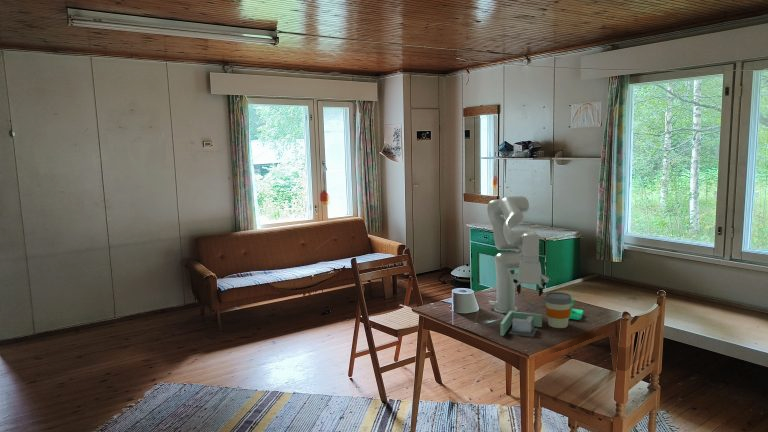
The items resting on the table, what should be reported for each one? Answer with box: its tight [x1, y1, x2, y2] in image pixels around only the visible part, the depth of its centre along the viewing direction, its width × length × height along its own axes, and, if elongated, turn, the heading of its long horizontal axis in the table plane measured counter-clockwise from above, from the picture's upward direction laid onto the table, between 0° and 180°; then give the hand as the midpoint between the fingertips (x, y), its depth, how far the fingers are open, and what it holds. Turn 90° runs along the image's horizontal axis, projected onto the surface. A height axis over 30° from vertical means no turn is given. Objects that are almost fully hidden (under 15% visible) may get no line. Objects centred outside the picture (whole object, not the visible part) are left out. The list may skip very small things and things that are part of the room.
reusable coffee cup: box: [544, 291, 573, 329], centre depth 259 cm, size 13×12×15 cm
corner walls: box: [499, 311, 543, 337], centre depth 253 cm, size 16×20×6 cm
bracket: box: [511, 316, 535, 334], centre depth 253 cm, size 8×8×6 cm
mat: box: [508, 328, 538, 338], centre depth 253 cm, size 12×11×1 cm
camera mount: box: [569, 297, 584, 320], centre depth 271 cm, size 12×8×10 cm, turn 148°
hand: (529, 294), depth 251 cm, fingers open, 9 cm apart
